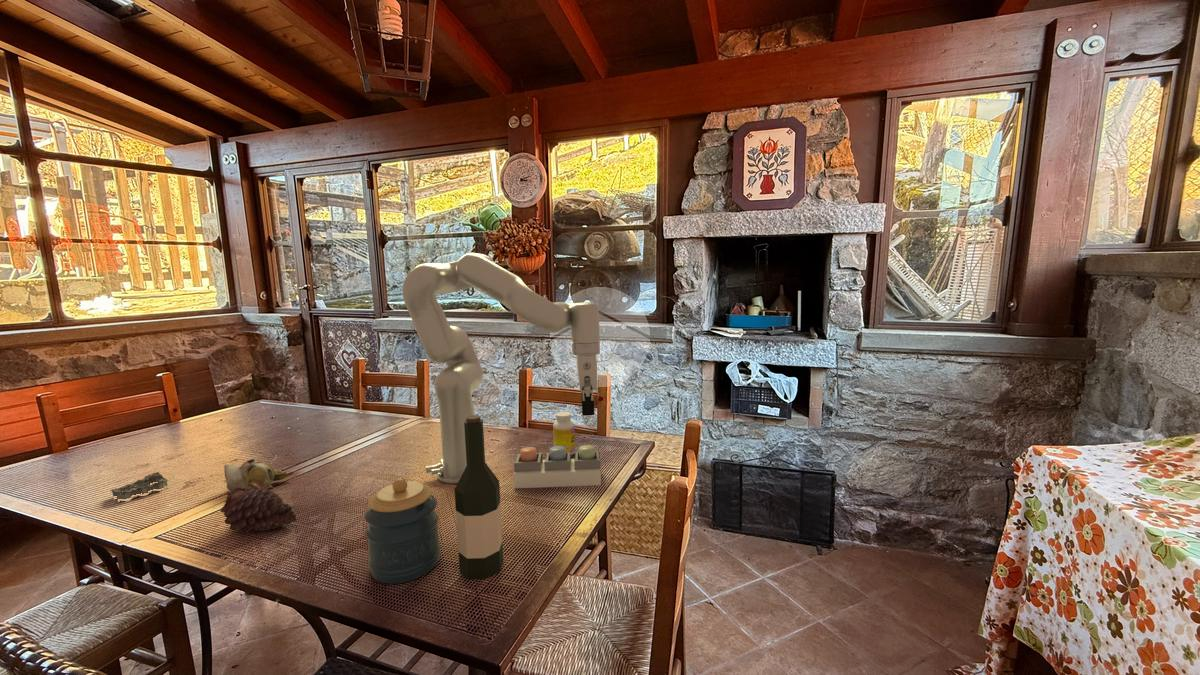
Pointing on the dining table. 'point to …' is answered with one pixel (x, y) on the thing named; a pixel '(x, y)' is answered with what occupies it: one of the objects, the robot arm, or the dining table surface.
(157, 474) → the tree bark piece
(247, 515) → the pine cone
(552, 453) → the slate button
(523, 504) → the dining table surface
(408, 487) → the canister
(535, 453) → the terracotta button
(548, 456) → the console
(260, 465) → the ceramic sculpture
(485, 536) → the wine bottle
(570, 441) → the supplement bottle
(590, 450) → the sage button
